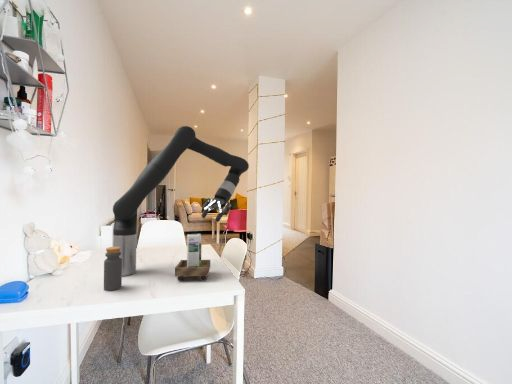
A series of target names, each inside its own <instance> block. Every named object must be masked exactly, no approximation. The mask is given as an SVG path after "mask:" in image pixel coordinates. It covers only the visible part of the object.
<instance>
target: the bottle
mask: <svg viewBox="0 0 512 384" xmlns="http://www.w3.org/2000/svg"><path fill="white" fill-rule="evenodd" d="M105 249H106V253H105V254H104V255H105V256H104V257H106V259H105V260H104V261H103V291H108V292H110V291H111V292H112V291H117V290H120V289H121V288H122V281H123V278H122V277H123V276H122V259H121V258H120V257H119V256H120V255H121V252H120V247H113V246H110V247H106V248H105Z"/></svg>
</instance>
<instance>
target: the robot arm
mask: <svg viewBox="0 0 512 384" xmlns="http://www.w3.org/2000/svg"><path fill="white" fill-rule="evenodd" d="M186 150H190V151H192V152H195V153H198V154H200V155H202V156H204V157H206V158H208V159H209V160H212V161H213V162H215V163H217V164H219V165H221V166H223V167H230V168H229V170H228V173H227V175H226V177H225V178H224V180H223V181H222V183H221V184H220V185H219V188H218V189H217V190H216V192H215V194H214V197H213V199H212V198H210V197H208V198H207V199H206V200H205V202H204V203H203V205H202V209H203V211H202V212H201V216H200V217H202V219H206V217H207V215H208V213H209V212H210V211H213V210H217V211H218V213H217V215H216V217H215V218H214V221H215V222H216V223H219V222H220V221H221V219H222V218H223V216H227V215H228V214H229V212H230V210H231V208H232V204H231V203H230V200H231V198H232V197H233V195H234V193H235V191H236V188H237V186H238V185H239V183H240V178H241V176H242V174H244V173H246V172H247V171H248V170H249V167H250V165H249V162H248V161H247V160H246V159H245V158H243V157H241V156H238V155H234V154H230V153H229V152H227V151H225V150H223V149H221V148H220V147H217V146H215V145H212V144H209V143H206V142H205V141H202V140H200V139H199V138H198V137H196V132H195V129H193V127H191V126H188V125H183V126H180V127H178V129H177V130H176V131H175V133H174V135H173V136H172V138H171V139H170V141H169V142H168V143H167V145H165V147H164V148H163V149H162V150H161V151H159V152H158V153H157V154H156V155H155V156H154V157H153V158H152V159H151V160H150V161H149V163H148V164H147V165H146V166H145V167H144V169H143V170H142V171H141V172H140V174H139V175H138V176H137V178H136V180H135V181H134V183H133V184H132V185H131V187H130V188H129V189H128V190H127V191H125V193H124V194H123V195H122V196H121V197H119V199H117V200H116V201H115V202H114V204H113V206H112V213H113V215H114V222H113V229H112V232H113V233H112V238H113V239H112V247H120V252H121V255H120V256H119V257H120V258H121V259H122V277H127V276H131V275H134V274H135V273H136V272H137V230H138V229H137V228H138V209H139V207H140V206H141V205H142V203H143V201H144V200H145V199H146V197H148V195H149V194H150V193H152V192H153V190H155V189H157V187H158V186H159V185H160V184H161V183H162V181H163V180H164V179H165V178H166V177H167V176H168V174H169V173H170V172H171V171H172V169H173V167H174V166H175V164H176V163H177V161H178V159H179V158H180V157H181V155H182V154H183V153H184V152H185V151H186Z"/></svg>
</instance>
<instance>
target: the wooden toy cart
mask: <svg viewBox="0 0 512 384" xmlns="http://www.w3.org/2000/svg"><path fill="white" fill-rule="evenodd" d="M210 269H211V259H201V267H189V268H187V259H180V261H179V262H178V264H176V266H175V268H174V277H177V281H179V282H182V281H183V280H184V278H185V277H199V280H200V281H202V282H203V281H205V280H206V279H207V277H208V275H209V273H210Z"/></svg>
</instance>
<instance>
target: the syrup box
mask: <svg viewBox="0 0 512 384" xmlns="http://www.w3.org/2000/svg"><path fill="white" fill-rule="evenodd" d="M186 236H187V238H186V239H187V240H186V241H187V242H186V258H187V259H186V260H187V268H189V267H201V260H202V234H201V233H191V234H189V233H188V234H187V235H186Z"/></svg>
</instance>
